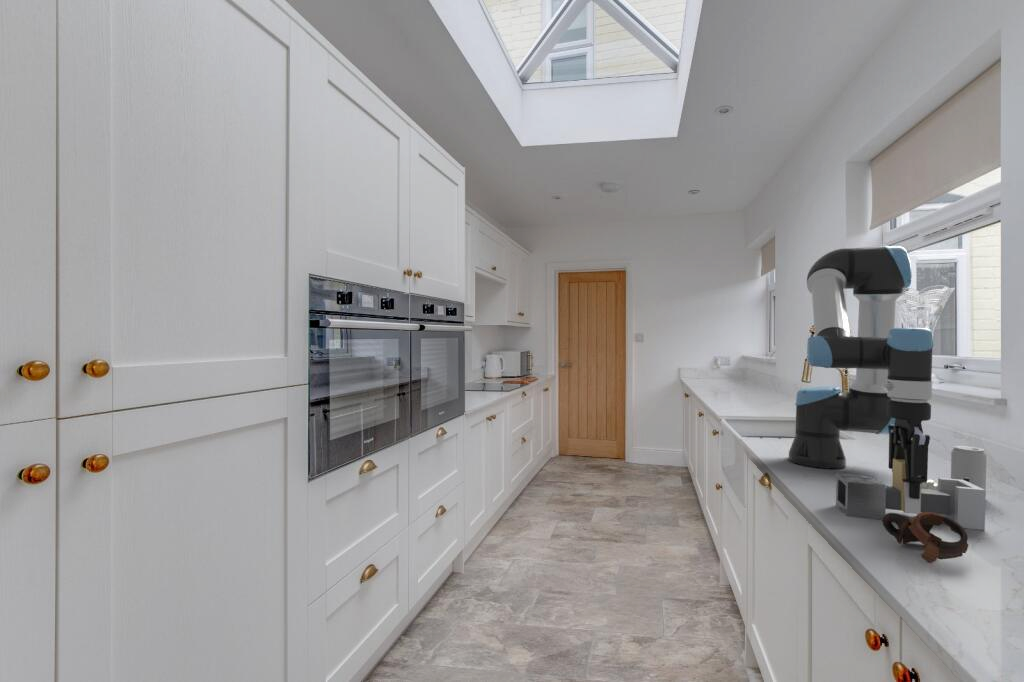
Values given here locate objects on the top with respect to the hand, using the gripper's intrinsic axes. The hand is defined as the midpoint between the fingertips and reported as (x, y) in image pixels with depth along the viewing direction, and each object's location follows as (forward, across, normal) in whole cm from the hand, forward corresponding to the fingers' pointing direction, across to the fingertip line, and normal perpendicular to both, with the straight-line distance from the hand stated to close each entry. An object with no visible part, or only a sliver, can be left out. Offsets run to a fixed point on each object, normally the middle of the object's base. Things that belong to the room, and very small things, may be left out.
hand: (906, 508), depth 109 cm
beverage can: (+2, -22, +21) cm, 31 cm away
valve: (+2, -16, +12) cm, 20 cm away
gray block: (+2, 0, -9) cm, 9 cm away
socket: (+2, 0, +10) cm, 10 cm away
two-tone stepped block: (0, 0, -1) cm, 1 cm away
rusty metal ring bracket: (+2, +21, -5) cm, 22 cm away
